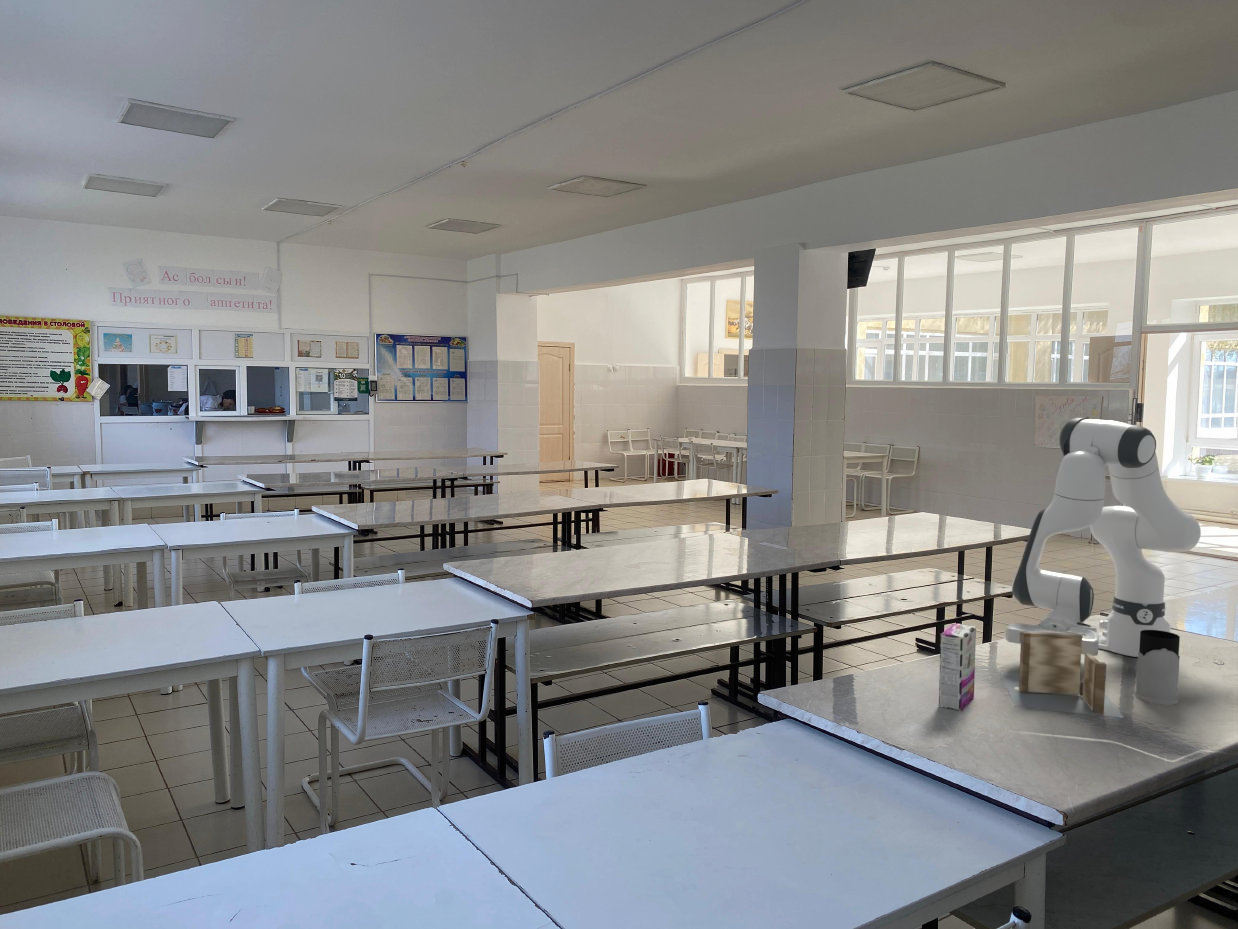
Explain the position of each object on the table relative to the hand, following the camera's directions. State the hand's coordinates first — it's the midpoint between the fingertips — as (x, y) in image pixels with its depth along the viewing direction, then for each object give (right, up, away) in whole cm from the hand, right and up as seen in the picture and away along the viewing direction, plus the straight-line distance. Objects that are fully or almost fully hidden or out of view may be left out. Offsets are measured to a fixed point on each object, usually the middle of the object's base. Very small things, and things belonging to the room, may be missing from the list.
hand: (1045, 646), depth 199 cm
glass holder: (+21, -10, -6) cm, 24 cm away
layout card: (-1, -10, -7) cm, 12 cm away
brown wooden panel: (-3, -9, -7) cm, 12 cm away
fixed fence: (+3, -10, -13) cm, 17 cm away
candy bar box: (-26, -10, -12) cm, 30 cm away
